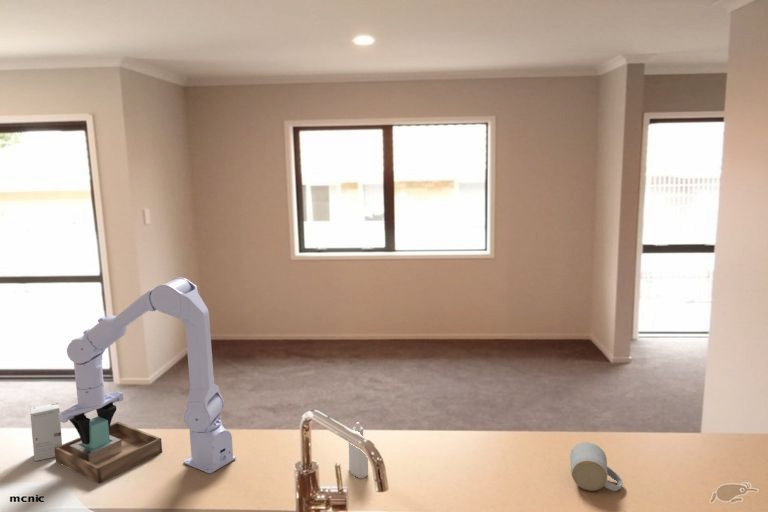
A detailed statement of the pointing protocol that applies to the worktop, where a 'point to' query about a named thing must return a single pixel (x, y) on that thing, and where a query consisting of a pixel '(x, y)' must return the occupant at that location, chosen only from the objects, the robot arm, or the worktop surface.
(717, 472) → the worktop surface
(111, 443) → the metal socket
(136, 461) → the walnut tray
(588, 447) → the ceramic mug
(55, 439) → the skincare box
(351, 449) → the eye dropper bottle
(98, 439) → the teal plug
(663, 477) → the worktop surface
